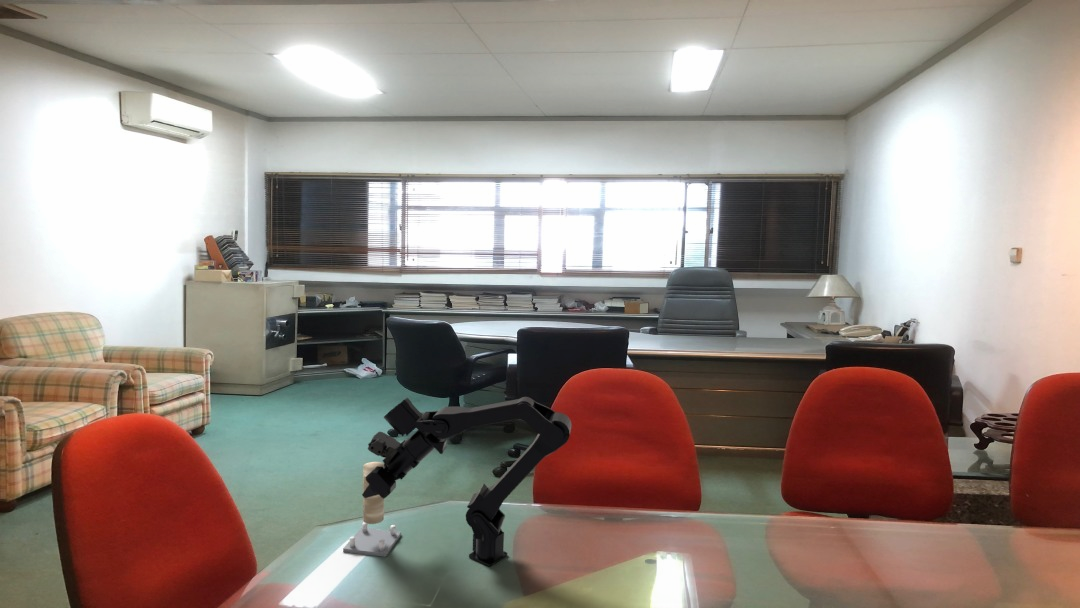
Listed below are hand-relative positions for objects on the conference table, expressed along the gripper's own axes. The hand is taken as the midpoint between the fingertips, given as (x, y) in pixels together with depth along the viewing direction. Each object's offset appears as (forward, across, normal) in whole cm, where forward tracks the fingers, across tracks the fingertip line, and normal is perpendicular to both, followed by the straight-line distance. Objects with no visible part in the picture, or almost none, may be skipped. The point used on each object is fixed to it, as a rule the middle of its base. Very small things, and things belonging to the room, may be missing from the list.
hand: (367, 491), depth 145 cm
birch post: (+4, 0, +6) cm, 7 cm away
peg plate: (+8, 0, +10) cm, 13 cm away
